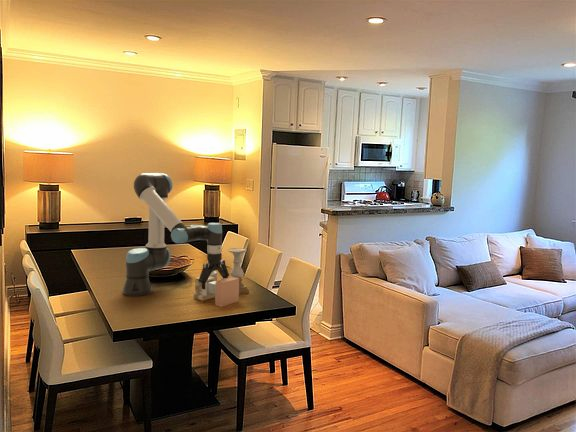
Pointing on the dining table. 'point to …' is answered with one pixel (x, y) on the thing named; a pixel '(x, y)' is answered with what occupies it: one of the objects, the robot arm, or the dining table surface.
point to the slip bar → (211, 286)
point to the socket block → (227, 291)
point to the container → (213, 274)
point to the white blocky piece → (199, 290)
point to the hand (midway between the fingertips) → (214, 292)
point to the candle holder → (238, 268)
